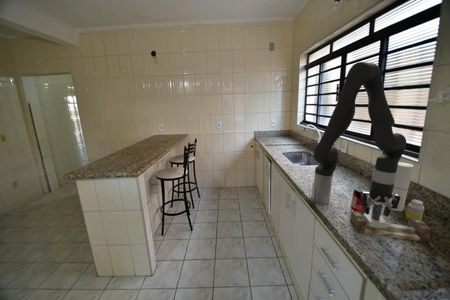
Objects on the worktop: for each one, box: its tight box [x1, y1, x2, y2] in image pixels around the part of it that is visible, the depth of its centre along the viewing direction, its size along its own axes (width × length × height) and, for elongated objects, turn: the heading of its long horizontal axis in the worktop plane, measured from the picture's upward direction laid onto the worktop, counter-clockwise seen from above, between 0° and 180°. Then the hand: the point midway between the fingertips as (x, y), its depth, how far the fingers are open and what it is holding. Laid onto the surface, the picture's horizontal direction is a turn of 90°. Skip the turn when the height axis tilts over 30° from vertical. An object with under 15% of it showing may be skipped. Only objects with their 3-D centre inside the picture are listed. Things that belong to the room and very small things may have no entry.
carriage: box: [362, 202, 389, 228], centre depth 84 cm, size 7×6×10 cm
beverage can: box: [350, 187, 369, 214], centre depth 100 cm, size 6×6×12 cm
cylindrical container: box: [389, 161, 414, 212], centre depth 100 cm, size 7×7×25 cm
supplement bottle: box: [404, 199, 425, 221], centre depth 91 cm, size 6×6×10 cm
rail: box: [349, 210, 432, 243], centre depth 84 cm, size 26×8×6 cm, turn 76°
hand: (376, 214), depth 84 cm, fingers open, 6 cm apart
